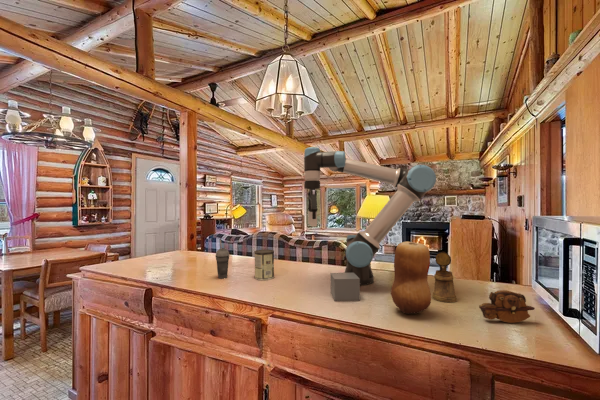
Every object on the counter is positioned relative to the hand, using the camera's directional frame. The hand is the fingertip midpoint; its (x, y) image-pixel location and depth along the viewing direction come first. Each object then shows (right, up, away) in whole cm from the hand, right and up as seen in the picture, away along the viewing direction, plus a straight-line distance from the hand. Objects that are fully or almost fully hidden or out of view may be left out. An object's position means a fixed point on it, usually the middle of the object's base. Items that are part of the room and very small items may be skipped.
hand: (312, 225), depth 134 cm
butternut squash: (+34, -28, -33) cm, 55 cm away
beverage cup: (-47, -29, +15) cm, 57 cm away
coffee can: (-25, -29, +15) cm, 41 cm away
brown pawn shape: (+54, -29, -17) cm, 63 cm away
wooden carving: (+62, -28, -41) cm, 80 cm away
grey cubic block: (+13, -29, -16) cm, 35 cm away
